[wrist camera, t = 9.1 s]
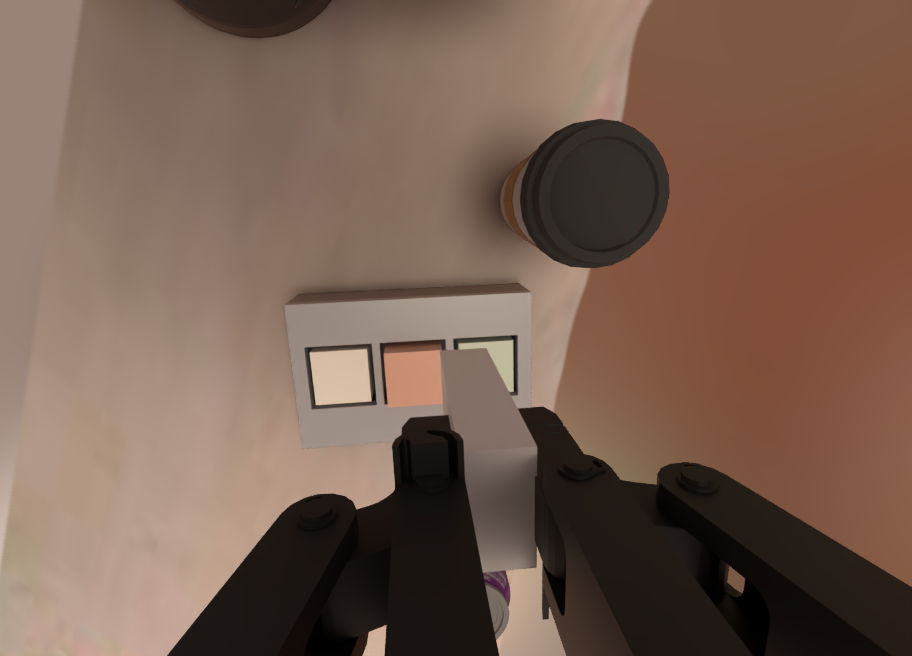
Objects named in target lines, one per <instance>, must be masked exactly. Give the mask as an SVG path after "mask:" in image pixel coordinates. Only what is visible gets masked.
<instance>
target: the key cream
mask: <svg viewBox="0 0 912 656" xmlns="http://www.w3.org/2000/svg"><path fill="white" fill-rule="evenodd" d="M310 360H311V369H312V377H313V385H314V394H315V402H316V405H326V404H341V403H356V402H370V401H372V397H373V392H374V377H373V365H372V354H371V344H355V345H339V346H322V347H313V349H312V350H311V351H310Z"/></svg>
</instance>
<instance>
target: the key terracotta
mask: <svg viewBox="0 0 912 656" xmlns="http://www.w3.org/2000/svg"><path fill="white" fill-rule="evenodd" d="M440 351H442V348H441V343H440V340H424V341H407V342H391V343H386V345H385V350H384V364H385V376H386V389H387V402H388V408H391V407H406V406H420V405H434V404H443V403H442V382H441V361H440Z"/></svg>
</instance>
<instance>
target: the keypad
mask: <svg viewBox="0 0 912 656" xmlns="http://www.w3.org/2000/svg"><path fill="white" fill-rule="evenodd" d="M284 309H285V317H286V325H287V333H288V340H289V348H290V356H291V363H292V371H293V379H294V386H295V394H296V402H297V410H298V417H299V425H300V433H301V440H302V448H303V449H309V448H323V447H336V446H350V445H363V444H376V443H390V442H394V441H395V439H396V438H397V437H399V436H400V435H401V434H402V426H403V425H404V424H405V423H406V422H407V421H408V420H409V419H410V418H411V417H425V416H440V415H443V404H434V405H420V406H406V407H391V408H388V402H387V389H386V376H385V364H384V350H385V345H386V343H391V342H407V341H424V340H440V343H441V348H442V351H443V350H456V340H455V339H457V338H474V337H490V336H507V335H510V337H511V338H512V339H513V384H514V392H509V393H510V395H511V397H512V399H513V401H514V403H515V404H516V406H517V408H531V292H530V291H529V290H527V289H526V288H525V287H523V286H522V285H521V284H519V283H515V284H495V285H476V286H456V287H437V288H417V289H398V290H378V291H359V292H339V293H319V294H300V295H297V296H296V297H294V298H293V299H292V300H290V301H289V302H288V303H286V304H285V305H284ZM355 344H371V354H372V365H373V377H374V392H373V397H372V401H370V402H356V403H341V404H326V405H316V402H315V394H314V385H313V377H312V369H311V360H310V351H311V350H312V349H313V347H322V346H339V345H355Z"/></svg>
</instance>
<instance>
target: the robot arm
mask: <svg viewBox="0 0 912 656" xmlns="http://www.w3.org/2000/svg"><path fill="white" fill-rule="evenodd" d="M175 1H176V2H178V3H179V4H180V5H181V6H182V7H183V8H185V9H186V10H187V11H188V12H189V13H191V14H192V15H194V16H195V17H196V18H198V19H200V20H201V21H203V22H205V23H206V24H208V25H210V26H212V27H215V28H217V29H219V30H222V31H225V32H227V33H231V34H235V35H240V36H246V37H270V36H276V35H281V34H284V33H288V32H290V31H293V30H295V29H297V28H299V27H301V26H303V25H305V24H306V23H308V22H310V21H311V20H312V19H314V18H315V17H316V16H317V15H318V14H319V13H321V12H322V11H323V9H324V8H325V7H326V6H327V5H328V4H329V3H330V1H331V0H175ZM440 361H441V382H442V403H443V415H440V416H425V417H411V418H410V419H409V420H408V421H407V422H406V423H405V424H404V425H403V426H402V434H401V435H400V436H399V437H397V438H396V439H395V441H394V443H393V445H392V451H393V463H394V476H395V490H394V492H393V493H392V494H390V495H389V496H388V497H387V498H385V499H383V500H382V501H380V502H378V503H375V504H373V505H370V506H367V507H364V508H360V509H357V510H356V508H355V505H354V503H353V501H351V500H350V499H348V498H347V497H345V496H342V495H337V494H318V495H314V496H310V497H307V498H304V499H302V500H300V501H298V502H296V503H294V504H292V505H290V506H289V507H288V508H287V509H286V510H285V511H284V512H283V513H281V515H280V516H279V517H278V518H277V520H276V521H275V522H274V523H273V525H272V526H271V527H270V528H269V530H268V531H267V532H266V533H265V534H264V536H263V537H262V538H261V539H260V541H259V542H258V543H257V544H256V546H255V547H254V548H253V549H252V551H251V552H250V553H249V554H248V556H247V557H246V558H245V559H244V561H243V562H242V563H241V564H240V566H239V567H238V568H237V569H236V571H235V572H234V573H233V574H232V576H231V577H230V578H229V579H228V581H227V582H226V583H225V584H224V586H223V587H222V588H221V589H220V590H219V592H218V593H217V594H216V595H215V597H214V598H213V599H212V600H211V602H210V603H209V604H208V605H207V607H206V608H205V609H204V610H203V612H202V613H201V614H200V615H199V617H198V618H197V619H196V620H195V622H194V623H193V624H192V625H191V627H190V628H189V629H188V630H187V632H186V633H185V634H184V635H183V637H182V638H181V639H180V640H179V641H178V643H177V644H176V645H175V646H174V648H173V649H172V650H171V651H170V653H169V654H168V655H167V656H362V655H363V653H364V650H365V647H366V645H367V639H368V633H369V632H370V631H372V630H374V629H377V628H379V627H382V626H384V625H387V627H386V643H385V656H499V653H498V648H497V643H496V637H495V632H494V627H493V622H492V617H491V611H490V606H489V601H488V596H487V591H486V586H485V580H484V575H483V573H485V572H495V571H505V570H516V569H526V568H535V567H536V565H537V564H536V562H537V559H536V558H537V554H536V553H537V549H536V548H537V547H538V550H539V553H540V556H541V558H542V561H543V573H542V574H543V575H542V578H543V579H542V614H543V619H548V618H549V607H550V609H551V612H552V615H553V617H554V620H555V623H556V626H557V629H558V632H559V635H560V638H561V641H562V644H563V647H564V650H565V653H566V656H912V587H911V586H909V585H907V584H905V583H904V582H902V581H901V580H899V579H897V578H895V577H894V576H892V575H891V574H889V573H887V572H886V571H884V570H882V569H881V568H879V567H878V566H876V565H874V564H872V563H871V562H869V561H868V560H866V559H864V558H863V557H861V556H859V555H858V554H856V553H854V552H853V551H851V550H849V549H848V548H846V547H844V546H843V545H841V544H839V543H838V542H836V541H834V540H833V539H831V538H830V537H828V536H826V535H825V534H823V533H821V532H820V531H818V530H816V529H815V528H813V527H811V526H810V525H808V524H806V523H805V522H803V521H801V520H800V519H798V518H796V517H795V516H793V515H792V514H790V513H788V512H787V511H785V510H783V509H782V508H780V507H778V506H777V505H775V504H773V503H772V502H770V501H768V500H767V499H765V498H763V497H762V496H760V495H759V494H757V493H755V492H754V491H752V490H750V489H749V488H747V487H745V486H743V485H742V484H740V483H739V482H737V481H735V480H734V479H732V478H730V477H729V476H727V475H725V474H723V473H721V472H719V471H717V470H715V469H713V468H709V467H706V466H702V465H700V464H697V463H688V462H682V463H675V464H669V465H667V466H664V467H662V468H661V469H660V471H659V472H658V474H657V485H654V484H646V483H636V482H629V481H623V480H620V479H619V477H618V476H617V475H616V473H615V472H614V471H613V470H612V468H611V467H610V466H609V465H608V464H606V463H605V462H604V461H603V460H600V459H598V458H596V457H594V456H590V455H585V454H583V452H582V451H581V449H580V448H579V446H578V445H577V443H576V442H575V440H574V439H573V438H572V436H571V435H570V434H569V432H568V431H567V429H566V427H565V426H563V423H562V422H561V420H560V419H559V418H558V416H557V414H555V413H553V412H552V411H550V410H548V409H546V408H545V407H532V408H517V406H516V404H515V403H514V401H513V399H512V397H511V395H510V393H509V391H508V389H507V387H506V385H505V383H504V381H503V379H502V377H501V375H500V374H499V372H498V370H497V368H496V366H495V364H494V362H493V360H492V358H491V356H490V354H489V352H488V350H487V348H476V349H460V350H443V351H440ZM729 566H731V567H732V568H733V569H734V570H735V571H737V572H738V573H739V574H740V575H742V576H743V577H744V578H745V586H744V591H743V593H740V592H739V591H737V590H735V589H734V588H733V587H732V586H731V585H729V584H728V583H727V579H728V571H729Z"/></svg>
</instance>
